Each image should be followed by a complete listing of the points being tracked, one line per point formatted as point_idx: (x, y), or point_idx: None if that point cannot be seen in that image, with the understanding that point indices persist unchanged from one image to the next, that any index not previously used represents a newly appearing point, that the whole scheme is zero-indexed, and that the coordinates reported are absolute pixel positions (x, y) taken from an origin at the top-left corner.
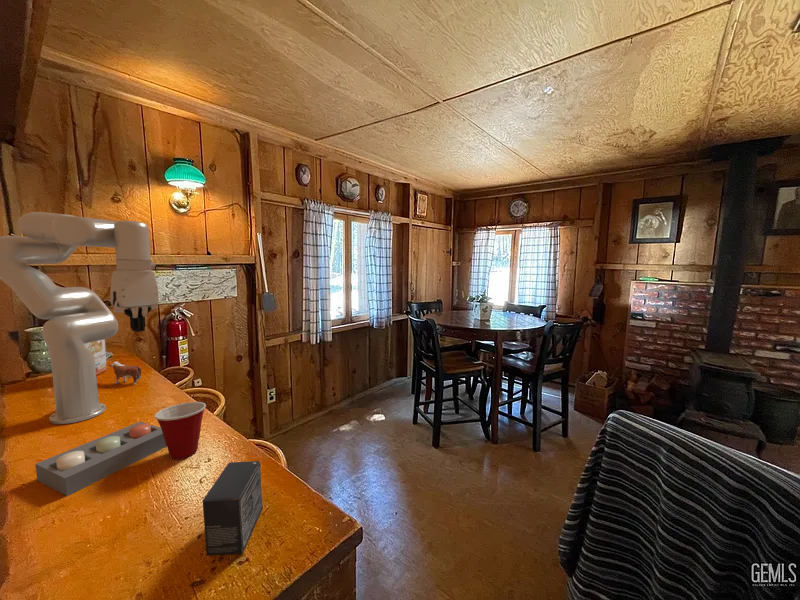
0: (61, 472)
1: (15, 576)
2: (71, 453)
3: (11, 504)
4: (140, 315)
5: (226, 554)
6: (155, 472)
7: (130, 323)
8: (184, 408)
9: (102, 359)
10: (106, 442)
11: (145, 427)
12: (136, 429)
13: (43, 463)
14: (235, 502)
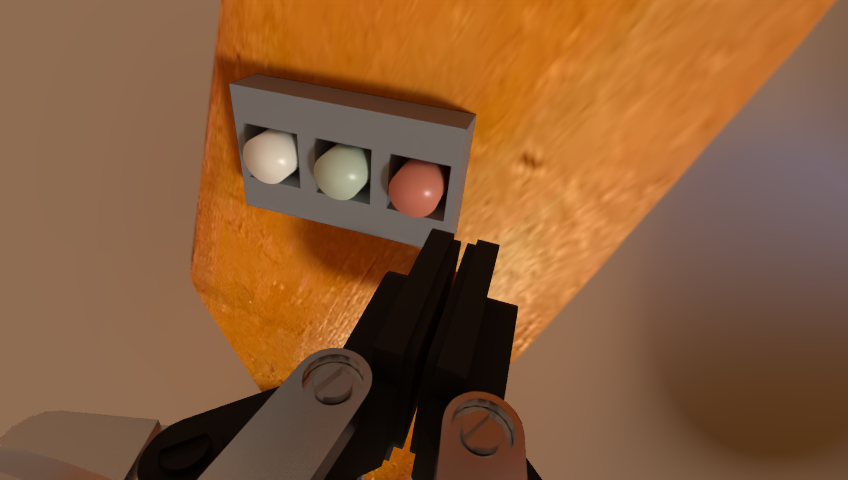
0: (249, 178)
1: (196, 268)
2: (270, 150)
3: (213, 114)
4: (417, 473)
5: None
6: (371, 275)
7: (367, 308)
8: None
9: None
10: (330, 182)
11: (418, 208)
12: (401, 195)
13: (239, 102)
14: None
